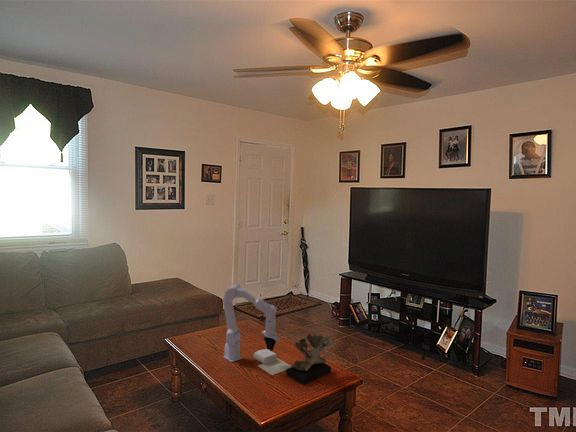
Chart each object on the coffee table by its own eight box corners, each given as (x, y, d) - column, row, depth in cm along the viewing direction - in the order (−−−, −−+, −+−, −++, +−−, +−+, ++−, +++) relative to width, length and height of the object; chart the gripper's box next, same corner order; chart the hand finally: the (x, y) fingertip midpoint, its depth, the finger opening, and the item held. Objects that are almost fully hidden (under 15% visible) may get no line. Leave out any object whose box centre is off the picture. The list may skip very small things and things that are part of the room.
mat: (257, 366, 217) (257, 365, 217) (277, 358, 226) (277, 358, 226) (272, 375, 206) (272, 375, 206) (293, 367, 216) (293, 367, 216)
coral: (318, 362, 223) (319, 327, 222) (343, 375, 208) (344, 337, 206) (285, 374, 207) (286, 336, 206) (310, 390, 192) (311, 349, 190)
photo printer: (277, 360, 224) (265, 353, 233) (277, 353, 223) (265, 347, 233) (264, 365, 217) (251, 358, 226) (263, 358, 217) (251, 351, 226)
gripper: (283, 329, 216) (283, 352, 217) (268, 321, 227) (268, 343, 228) (274, 331, 211) (273, 355, 212) (258, 324, 222) (258, 346, 223)
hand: (270, 349), depth 219 cm, fingers closed
